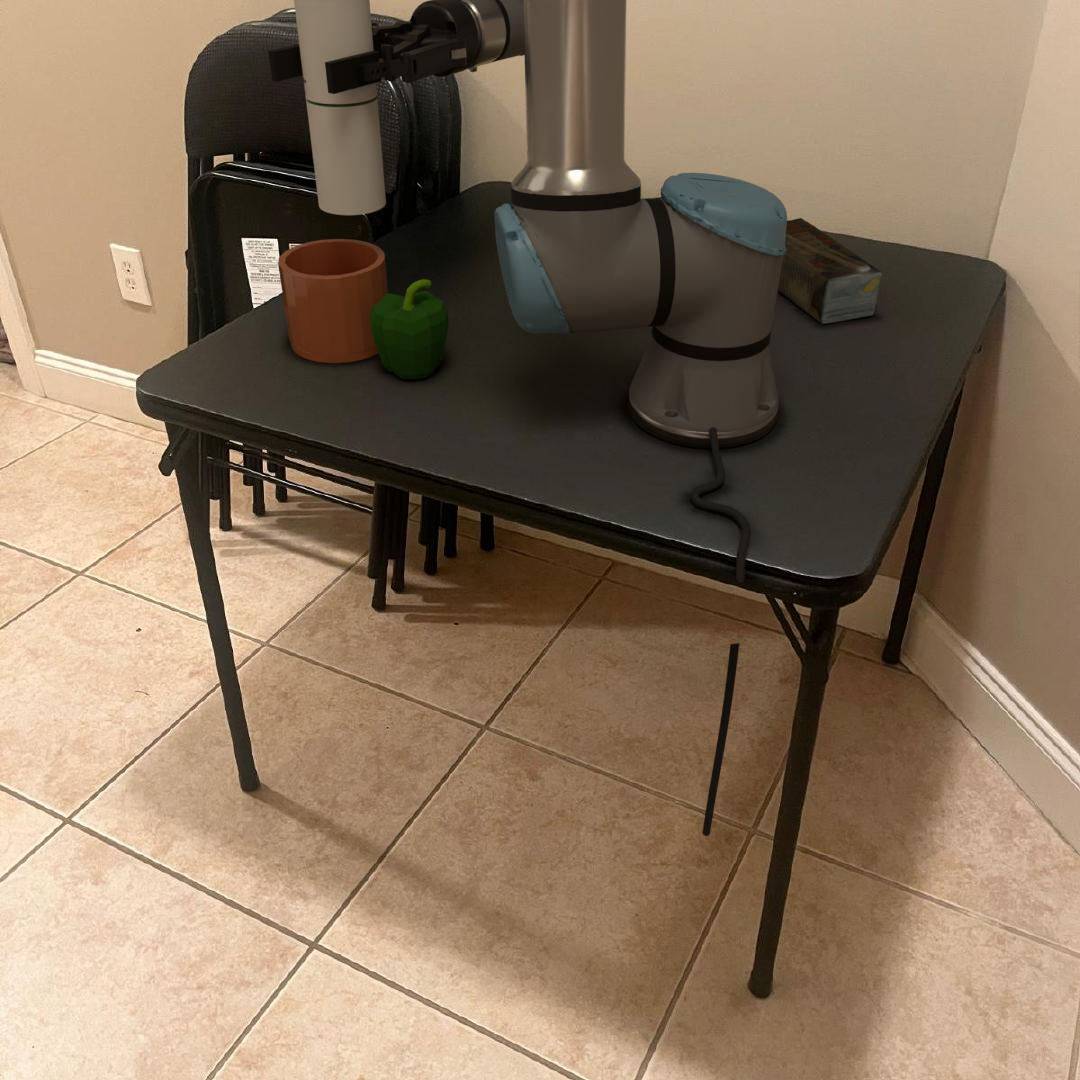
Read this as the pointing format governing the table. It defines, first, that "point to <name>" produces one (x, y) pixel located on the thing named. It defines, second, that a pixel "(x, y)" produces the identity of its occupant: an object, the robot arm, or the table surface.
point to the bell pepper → (410, 331)
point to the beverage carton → (826, 276)
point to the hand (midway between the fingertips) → (300, 72)
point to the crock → (332, 298)
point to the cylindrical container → (341, 108)
